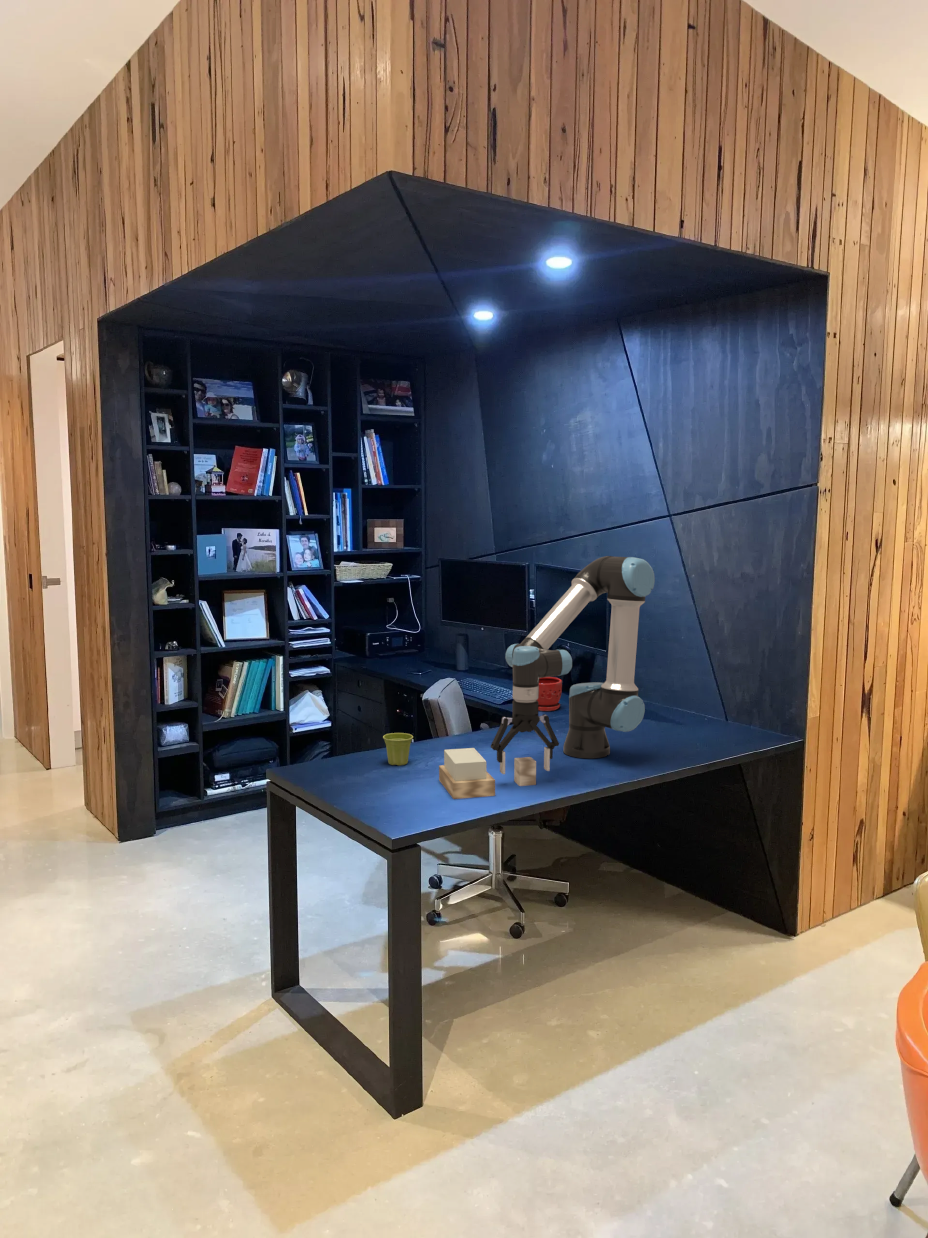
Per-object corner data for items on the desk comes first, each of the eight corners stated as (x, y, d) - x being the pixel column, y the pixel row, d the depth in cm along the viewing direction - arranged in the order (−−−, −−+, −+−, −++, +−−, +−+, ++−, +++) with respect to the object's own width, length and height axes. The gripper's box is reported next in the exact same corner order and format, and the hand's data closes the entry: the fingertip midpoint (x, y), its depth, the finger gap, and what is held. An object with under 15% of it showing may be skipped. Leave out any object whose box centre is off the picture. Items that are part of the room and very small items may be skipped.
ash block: (530, 780, 270) (530, 757, 269) (535, 785, 265) (536, 761, 265) (514, 781, 269) (514, 758, 268) (519, 786, 264) (519, 762, 263)
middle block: (473, 764, 271) (473, 747, 270) (486, 778, 256) (486, 761, 255) (444, 766, 269) (444, 749, 268) (455, 781, 254) (455, 763, 253)
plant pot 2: (525, 706, 370) (525, 677, 368) (556, 705, 372) (556, 676, 370) (533, 713, 357) (533, 683, 355) (565, 712, 359) (566, 682, 358)
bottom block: (478, 778, 273) (478, 762, 272) (495, 797, 256) (495, 780, 255) (439, 782, 270) (439, 765, 269) (453, 800, 253) (453, 783, 252)
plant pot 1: (402, 757, 294) (402, 731, 293) (419, 764, 287) (418, 737, 286) (377, 762, 289) (377, 735, 288) (393, 769, 281) (393, 741, 280)
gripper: (487, 704, 257) (487, 778, 260) (570, 700, 264) (569, 771, 266) (480, 699, 265) (480, 770, 267) (561, 695, 271) (560, 764, 273)
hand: (524, 771), depth 267 cm, fingers open, 13 cm apart
